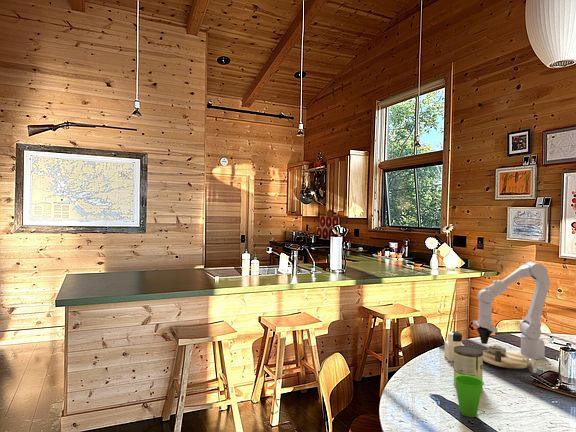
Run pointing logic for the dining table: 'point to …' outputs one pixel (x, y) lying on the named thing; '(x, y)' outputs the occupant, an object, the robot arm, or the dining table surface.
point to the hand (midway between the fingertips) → (484, 343)
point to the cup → (468, 394)
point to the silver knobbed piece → (531, 365)
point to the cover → (497, 348)
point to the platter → (505, 359)
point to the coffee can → (468, 361)
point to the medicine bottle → (452, 344)
